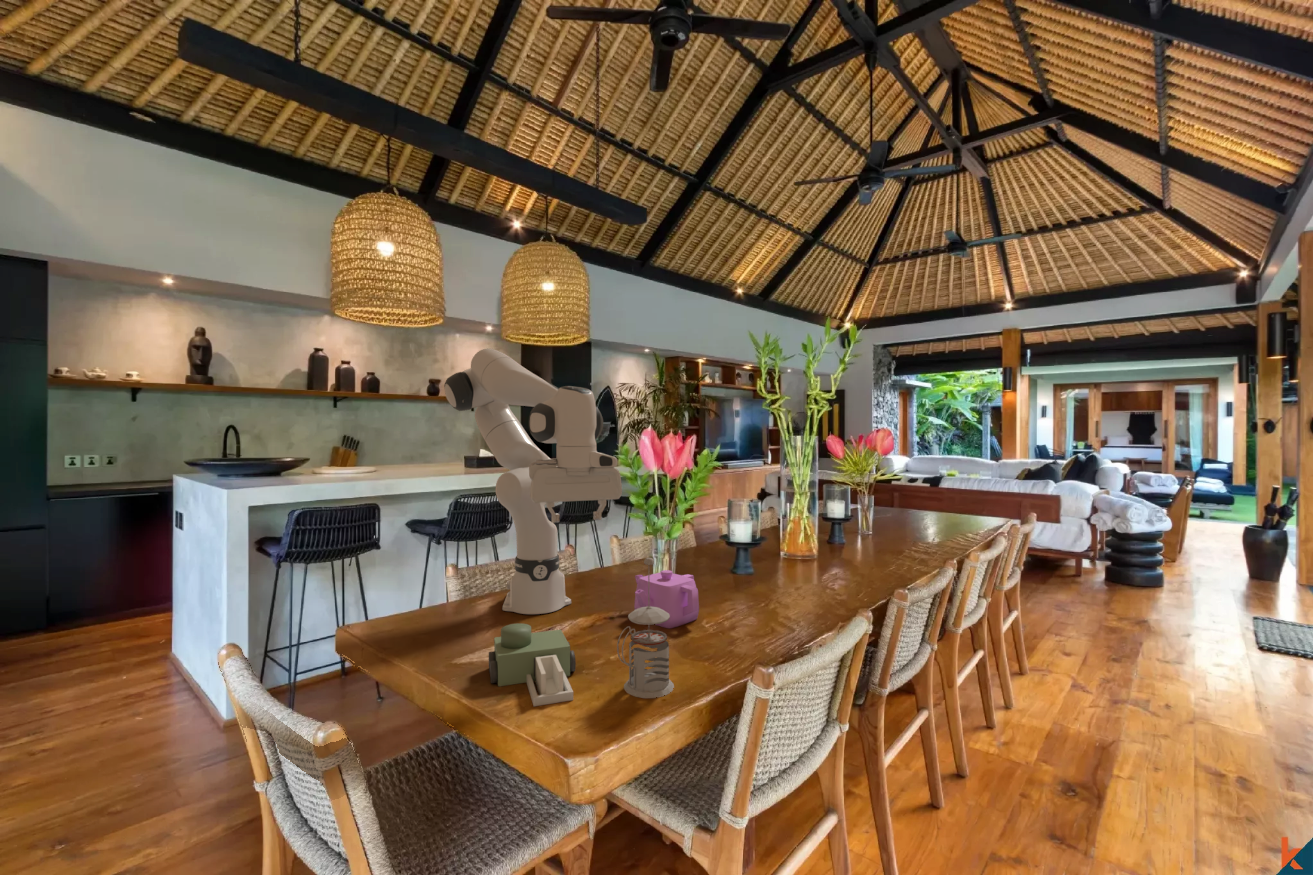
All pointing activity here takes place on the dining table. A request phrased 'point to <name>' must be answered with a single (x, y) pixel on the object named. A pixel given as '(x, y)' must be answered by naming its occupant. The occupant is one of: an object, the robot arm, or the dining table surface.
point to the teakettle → (669, 596)
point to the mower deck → (530, 659)
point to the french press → (648, 653)
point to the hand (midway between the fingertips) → (576, 520)
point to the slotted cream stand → (549, 675)
